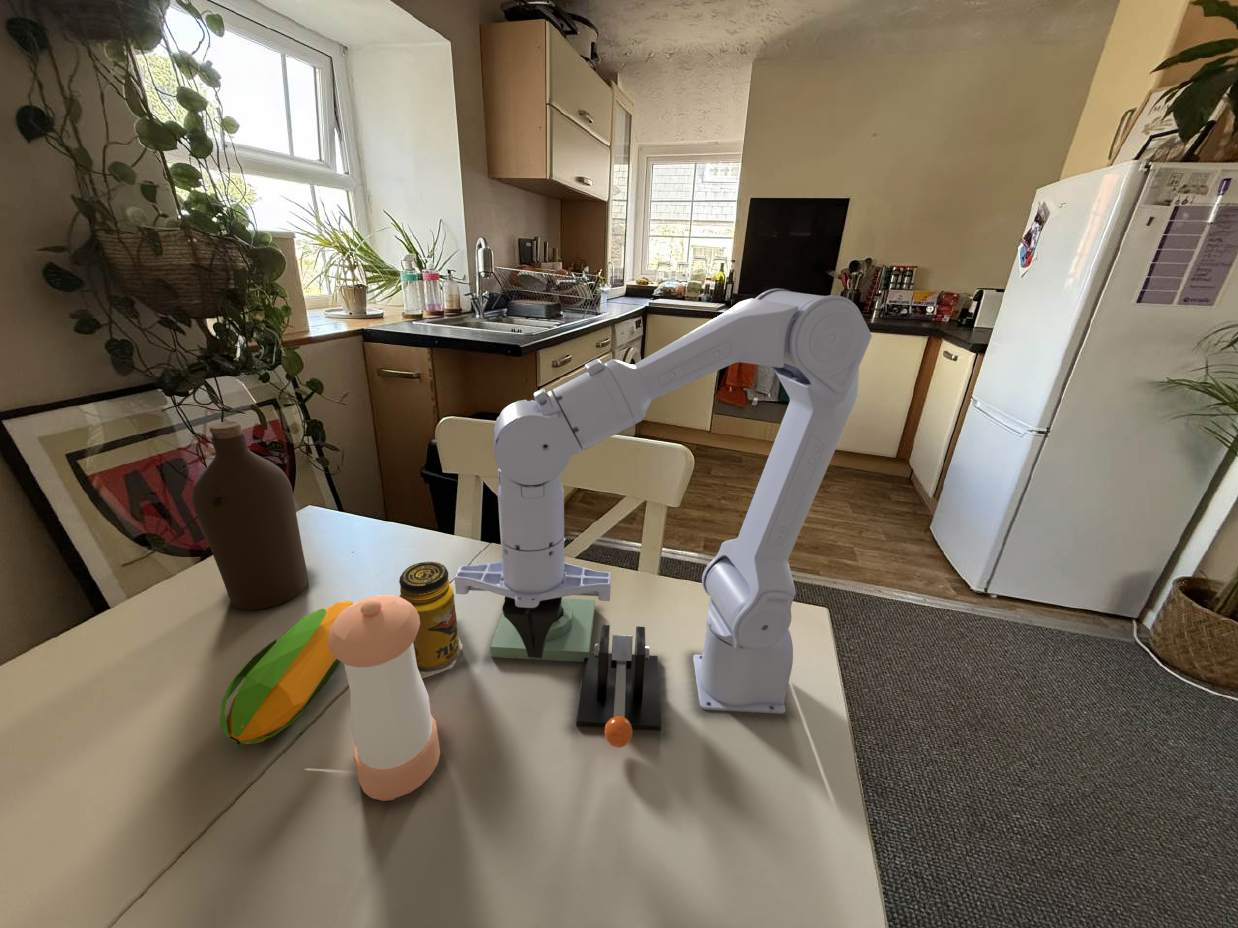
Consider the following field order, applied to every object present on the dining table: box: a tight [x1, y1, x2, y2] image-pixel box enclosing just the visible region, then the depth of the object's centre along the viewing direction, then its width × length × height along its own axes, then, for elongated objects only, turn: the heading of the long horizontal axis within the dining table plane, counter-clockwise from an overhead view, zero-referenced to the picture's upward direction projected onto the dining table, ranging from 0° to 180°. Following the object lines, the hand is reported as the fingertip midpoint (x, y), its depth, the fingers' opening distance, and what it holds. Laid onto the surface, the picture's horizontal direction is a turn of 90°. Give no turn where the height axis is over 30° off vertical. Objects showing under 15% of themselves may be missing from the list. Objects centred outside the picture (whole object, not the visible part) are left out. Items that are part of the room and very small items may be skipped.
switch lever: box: [603, 634, 633, 749], centre depth 52 cm, size 11×3×3 cm, turn 179°
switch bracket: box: [575, 624, 662, 732], centre depth 56 cm, size 10×9×8 cm
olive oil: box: [191, 421, 309, 611], centre depth 67 cm, size 11×11×25 cm
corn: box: [219, 600, 354, 745], centre depth 55 cm, size 7×8×20 cm
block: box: [489, 597, 596, 663], centre depth 65 cm, size 12×10×4 cm
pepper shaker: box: [328, 594, 441, 802], centre depth 44 cm, size 7×7×19 cm
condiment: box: [398, 561, 464, 680], centre depth 59 cm, size 7×8×12 cm
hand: (536, 650), depth 50 cm, fingers closed
